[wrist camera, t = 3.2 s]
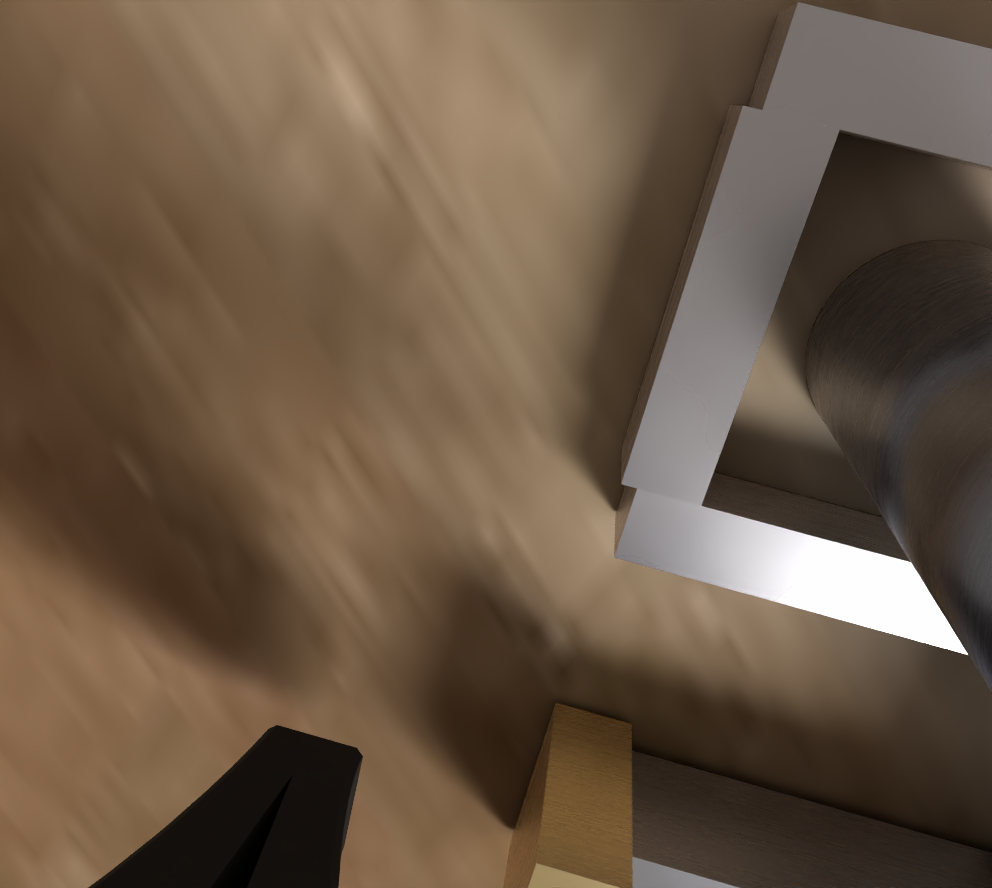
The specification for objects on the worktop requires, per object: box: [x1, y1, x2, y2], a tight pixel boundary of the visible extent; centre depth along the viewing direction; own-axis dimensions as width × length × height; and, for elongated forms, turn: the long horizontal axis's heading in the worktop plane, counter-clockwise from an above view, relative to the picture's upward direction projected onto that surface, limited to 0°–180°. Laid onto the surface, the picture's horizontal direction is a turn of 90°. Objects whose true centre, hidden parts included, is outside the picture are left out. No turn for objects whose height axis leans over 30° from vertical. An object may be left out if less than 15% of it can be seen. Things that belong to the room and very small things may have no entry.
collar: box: [614, 2, 992, 655], centre depth 10 cm, size 6×6×1 cm
